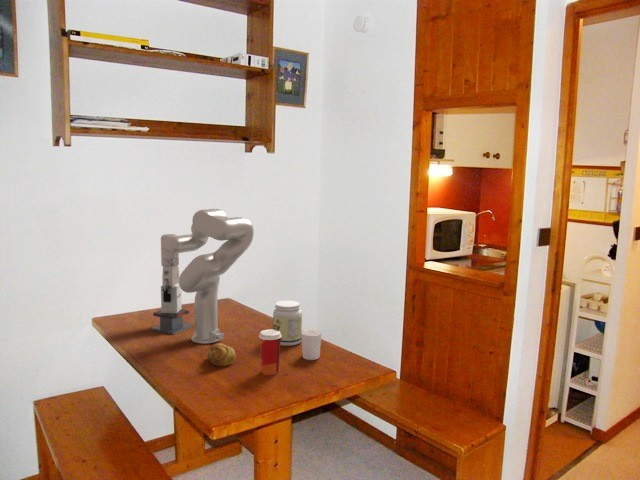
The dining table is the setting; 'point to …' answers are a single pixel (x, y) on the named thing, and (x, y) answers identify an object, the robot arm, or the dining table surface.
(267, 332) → the coffee cup
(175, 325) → the jack stand
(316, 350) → the white cup
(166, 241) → the robot arm
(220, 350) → the bread roll
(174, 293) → the supplement box
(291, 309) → the supplement tub
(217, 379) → the dining table surface
